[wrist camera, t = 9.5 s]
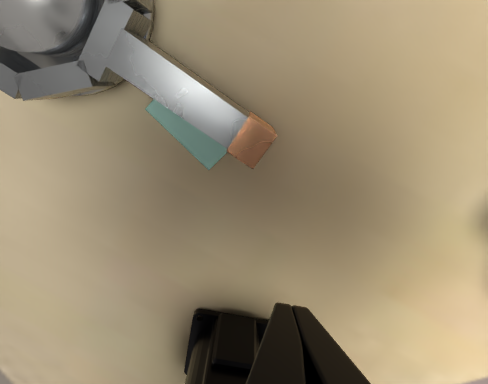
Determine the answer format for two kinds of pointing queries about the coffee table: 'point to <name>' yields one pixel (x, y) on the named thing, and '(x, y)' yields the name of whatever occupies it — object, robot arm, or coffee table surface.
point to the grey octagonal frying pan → (140, 80)
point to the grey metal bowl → (51, 29)
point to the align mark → (188, 135)
